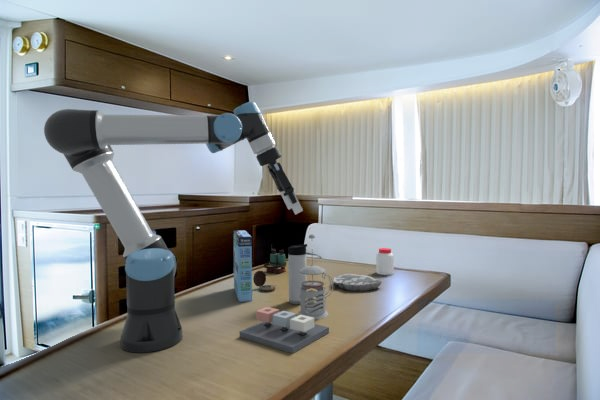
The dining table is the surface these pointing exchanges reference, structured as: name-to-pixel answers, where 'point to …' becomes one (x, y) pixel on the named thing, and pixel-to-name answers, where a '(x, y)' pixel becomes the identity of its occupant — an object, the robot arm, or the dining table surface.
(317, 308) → the french press
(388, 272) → the pill bottle
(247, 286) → the gum box
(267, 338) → the keyboard base
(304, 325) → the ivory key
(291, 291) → the travel mug
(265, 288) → the compass
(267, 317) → the pink cube
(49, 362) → the dining table surface
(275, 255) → the binoculars
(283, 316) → the grey key
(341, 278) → the brain slice
